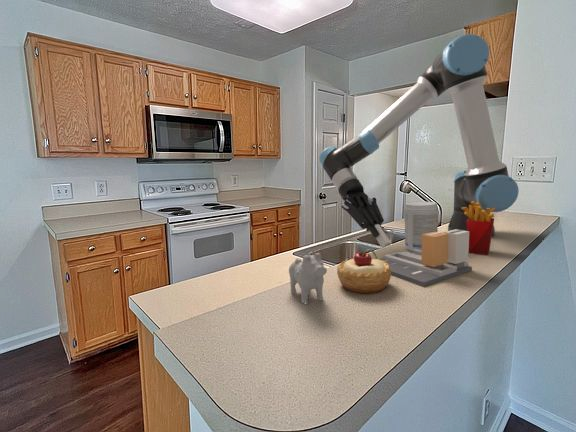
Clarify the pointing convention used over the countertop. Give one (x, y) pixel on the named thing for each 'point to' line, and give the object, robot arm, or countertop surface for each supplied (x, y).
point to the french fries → (479, 228)
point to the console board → (415, 272)
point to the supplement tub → (419, 222)
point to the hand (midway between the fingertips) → (386, 244)
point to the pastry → (364, 273)
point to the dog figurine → (308, 275)
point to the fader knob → (434, 249)
